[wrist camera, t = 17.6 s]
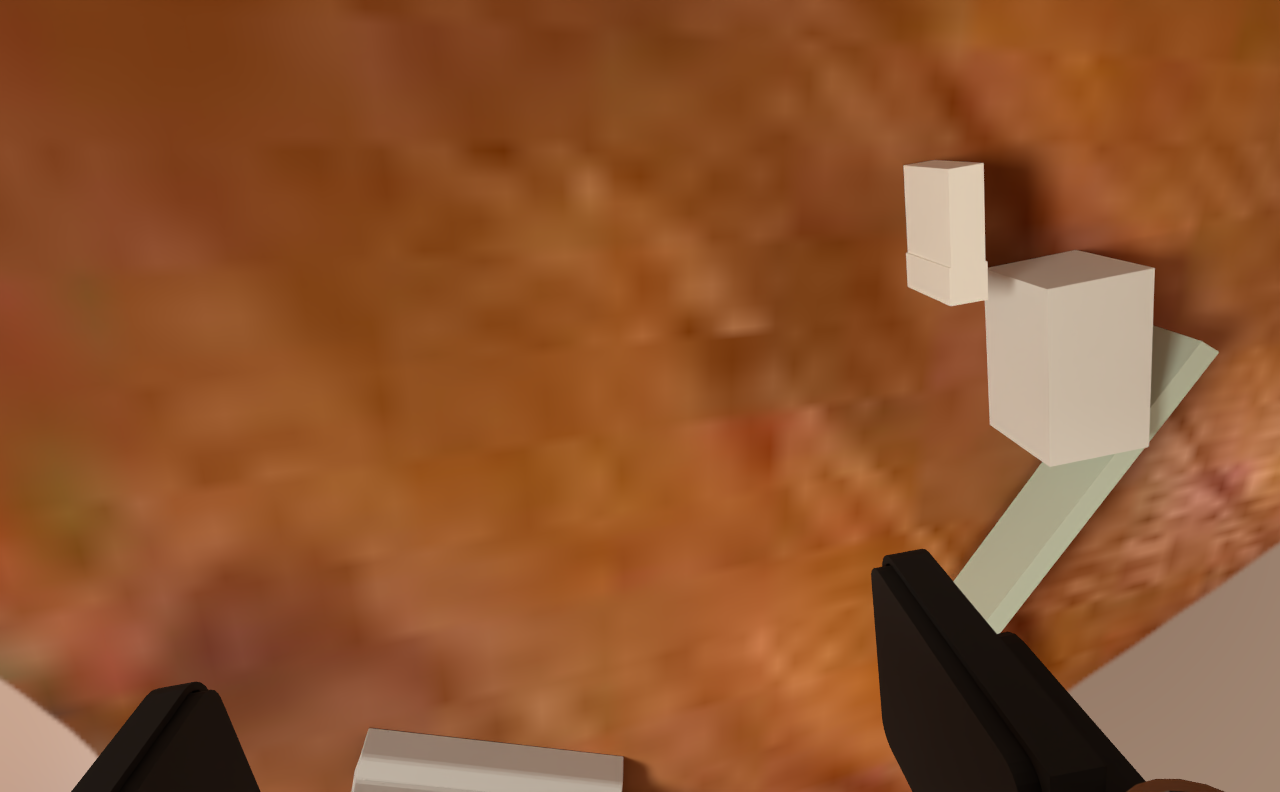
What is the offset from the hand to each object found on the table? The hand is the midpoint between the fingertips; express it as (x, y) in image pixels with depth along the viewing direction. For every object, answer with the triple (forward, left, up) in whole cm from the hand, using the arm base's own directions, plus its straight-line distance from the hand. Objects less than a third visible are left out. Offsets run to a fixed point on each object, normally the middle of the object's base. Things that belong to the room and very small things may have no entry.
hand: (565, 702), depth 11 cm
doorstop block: (+7, +24, -30) cm, 39 cm away
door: (+16, +24, -30) cm, 42 cm away
